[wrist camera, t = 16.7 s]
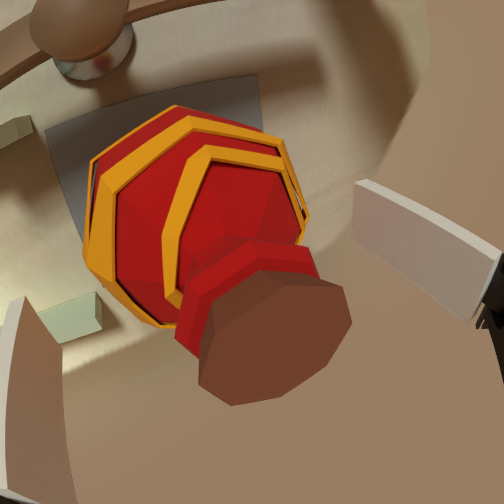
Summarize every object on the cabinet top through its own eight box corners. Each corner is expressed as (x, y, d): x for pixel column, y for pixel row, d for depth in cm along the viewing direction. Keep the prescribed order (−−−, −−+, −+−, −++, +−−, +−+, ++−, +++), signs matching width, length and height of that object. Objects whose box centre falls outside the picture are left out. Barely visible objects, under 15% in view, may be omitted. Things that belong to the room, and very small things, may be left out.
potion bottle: (77, 122, 14) (-54, 207, 2) (238, 94, 17) (456, 124, 6) (114, 268, 20) (148, 478, 8) (246, 233, 23) (381, 381, 11)
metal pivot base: (59, 91, 13) (41, 89, 9) (50, 22, 10) (32, 2, 6) (137, 66, 14) (143, 55, 11) (128, -2, 11) (132, -29, 8)
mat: (103, 286, 20) (103, 287, 20) (45, 130, 13) (44, 130, 13) (272, 228, 24) (273, 229, 24) (255, 75, 17) (256, 75, 17)
